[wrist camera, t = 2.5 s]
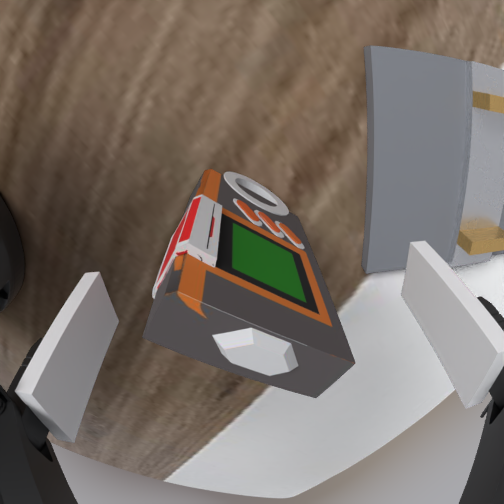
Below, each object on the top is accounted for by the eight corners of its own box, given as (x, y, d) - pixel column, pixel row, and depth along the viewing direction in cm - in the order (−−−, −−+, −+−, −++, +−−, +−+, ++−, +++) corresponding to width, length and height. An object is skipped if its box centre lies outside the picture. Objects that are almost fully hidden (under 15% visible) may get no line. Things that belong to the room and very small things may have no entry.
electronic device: (294, 199, 23) (365, 364, 10) (272, 231, 24) (310, 411, 11) (210, 152, 21) (165, 282, 8) (190, 188, 22) (130, 351, 9)
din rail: (446, 262, 25) (462, 279, 22) (465, 60, 16) (488, 62, 14) (485, 256, 25) (502, 271, 22) (507, 72, 16) (530, 76, 14)
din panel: (361, 265, 26) (366, 273, 25) (363, 47, 17) (370, 45, 16) (525, 242, 26) (532, 248, 24) (546, 88, 17) (555, 90, 16)
